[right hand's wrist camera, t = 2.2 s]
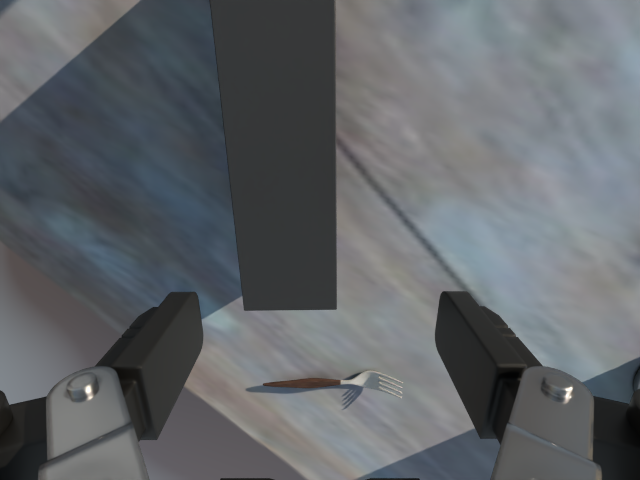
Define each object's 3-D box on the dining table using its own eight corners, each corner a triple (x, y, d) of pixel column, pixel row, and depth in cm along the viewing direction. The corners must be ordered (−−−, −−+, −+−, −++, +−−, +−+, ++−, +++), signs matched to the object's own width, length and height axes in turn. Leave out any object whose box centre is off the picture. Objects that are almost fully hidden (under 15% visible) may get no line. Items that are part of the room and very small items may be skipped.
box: (332, 242, 35) (336, 309, 23) (271, 243, 35) (243, 311, 23) (329, -95, 26) (334, -272, 14) (246, -92, 26) (179, -266, 14)
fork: (262, 372, 41) (259, 385, 39) (399, 368, 40) (402, 381, 38) (264, 389, 41) (261, 403, 40) (398, 386, 41) (401, 399, 39)
